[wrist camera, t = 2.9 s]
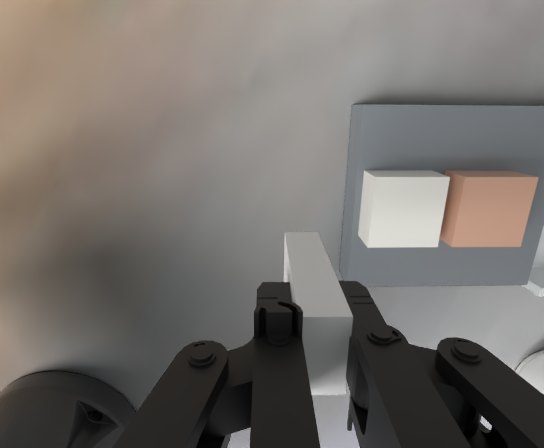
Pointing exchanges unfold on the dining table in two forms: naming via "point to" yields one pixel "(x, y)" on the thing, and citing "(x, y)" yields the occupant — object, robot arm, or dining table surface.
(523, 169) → the board
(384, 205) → the tile
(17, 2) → the dining table surface
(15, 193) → the dining table surface
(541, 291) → the tray
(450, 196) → the tile
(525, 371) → the lidded jar
